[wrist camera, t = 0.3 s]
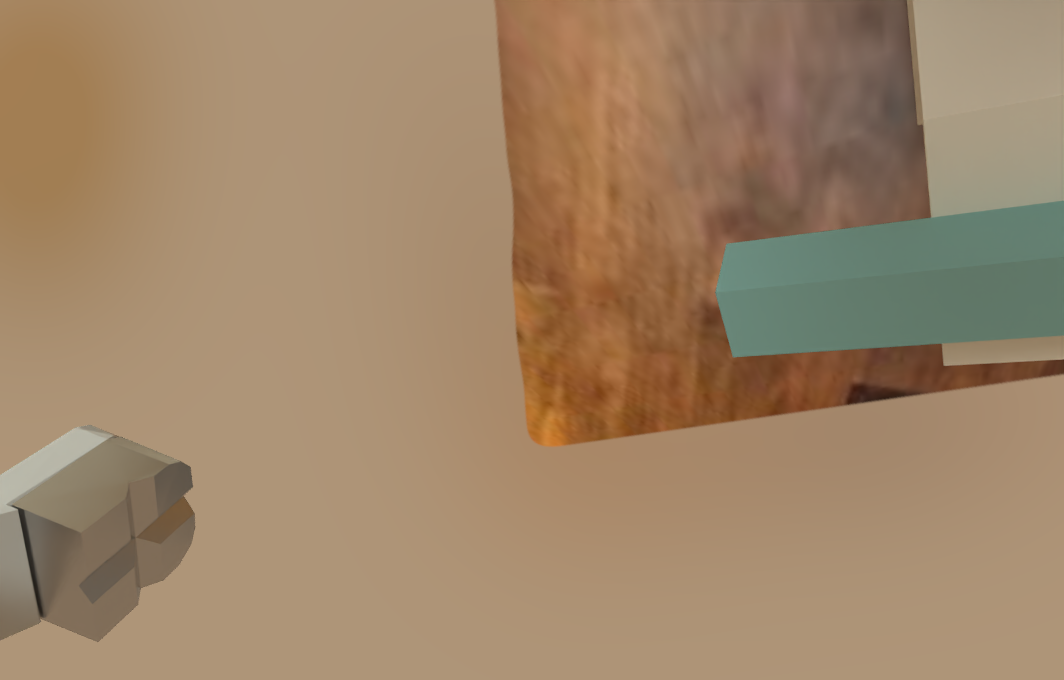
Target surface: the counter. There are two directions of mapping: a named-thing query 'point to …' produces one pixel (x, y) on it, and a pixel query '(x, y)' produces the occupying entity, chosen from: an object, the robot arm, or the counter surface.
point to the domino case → (898, 283)
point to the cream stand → (991, 122)
